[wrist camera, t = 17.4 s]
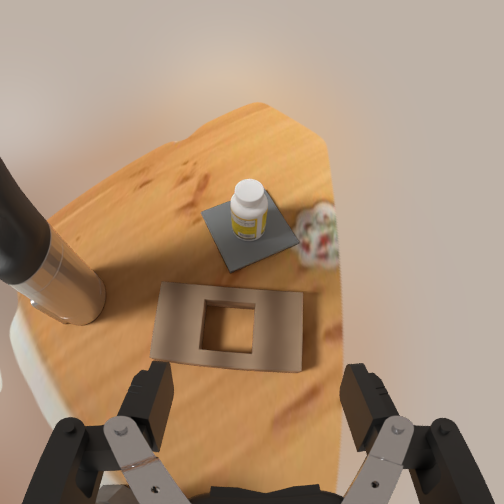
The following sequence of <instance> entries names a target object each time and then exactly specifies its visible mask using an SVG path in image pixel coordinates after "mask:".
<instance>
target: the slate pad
mask: <svg viewBox="0 0 504 504" xmlns="http://www.w3.org/2000/svg"><path fill="white" fill-rule="evenodd" d="M264 194H265V195H266V197H267V200H268V209H267V218H266V227H265V231H264V233H263V235H262V236H261V237H260V238H258V239H256V240H254V241H244V240H241V239H239V238H238V237H237V236H236V235H235V234H234V232H233V229H232V220H231V205H230V204H231V201H228V202H226V203H223V204H221V205H218V206H215V207H213V208H210V209H208V210H205V211H202V212H201V214H202V216H203V218H204V220H205V222H206V224H207V227H208V229H209V231H210V233H211V235H212V237H213V239H214V241H215V243H216V245H217V247H218V249H219V251H220V253H221V255H222V257H223V259H224V261H225V263H226V265H227V267H228V269H229V271H230V273H232V272H234V271H236V270H239V269H241V268H243V267H246V266H248V265H250V264H253V263H255V262H257V261H259V260H262V259H264V258H266V257H269V256H271V255H273V254H276V253H278V252H280V251H282V250H285V249H287V248H289V247H292V246H294V245H296V244H298V243H299V241H298V240H297V238H296V236H295V235H294V233H293V232H292V230H291V229H290V227H289V225H288V224H287V222H286V221H285V219H284V218H283V216H282V214H281V213H280V211H279V210H278V208H277V207H276V205H275V204H274V202H273V201H272V199H271V197H270V196H269V194H268V193H267V191H266V190H265V188H264Z"/></svg>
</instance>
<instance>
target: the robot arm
mask: <svg viewBox="0 0 504 504" xmlns="http://www.w3.org/2000/svg"><path fill="white" fill-rule="evenodd" d="M0 279H1V280H2V281H3V282H5V283H7V284H8V285H10V286H11V287H13V288H14V289H15V290H17V291H19V292H20V293H22V294H23V295H25V296H26V297H28V298H30V300H31V305H32V306H33V307H35V308H36V309H38V310H40V311H42V312H43V313H45V314H47V315H49V316H50V317H52V318H54V319H56V320H58V321H59V322H61V323H63V324H66V323H72V324H74V325H85V324H88V323H90V322H92V321H93V320H95V319H96V318H97V316H98V315H99V314H100V313H101V311H102V309H103V307H104V304H105V299H106V291H105V286H104V284H103V282H102V280H101V279H100V278H99V277H98V276H97V274H96V273H95V272H93V271H92V270H91V269H90V267H89V266H88V265H87V264H86V263H85V262H84V261H83V260H82V259H81V258H80V257H79V256H78V255H77V254H76V253H75V252H74V251H73V250H72V249H71V248H70V246H69V245H68V244H67V243H66V242H65V241H64V240H63V239H62V238H61V237H60V235H59V234H58V233H57V232H56V231H55V230H54V229H53V228H52V227H51V225H50V224H49V223H48V222H47V221H46V220H45V219H44V217H43V216H42V215H41V214H40V213H39V212H38V211H37V209H36V208H35V207H34V206H33V204H32V203H31V202H30V201H29V199H28V198H27V197H26V196H25V194H24V193H23V192H22V191H21V189H20V187H19V186H18V185H17V183H16V182H15V180H14V179H13V177H12V175H11V174H10V172H9V171H8V169H7V168H6V166H5V164H4V162H3V161H2V159H1V158H0ZM173 396H174V385H173V379H172V373H171V366H170V363H169V362H164V361H152V363H151V366H150V368H149V370H148V371H146V370H141V371H140V372H139V373H138V374H137V375H135V376H134V378H133V380H132V383H131V386H130V387H129V389H128V393H127V394H126V396H125V399H124V401H123V403H122V405H121V408H120V410H119V412H118V415H117V416H116V417H113V418H111V419H109V420H108V421H107V422H106V423H105V425H100V426H84V424H83V422H82V421H81V420H79V419H77V418H73V417H68V418H64V419H62V420H60V421H59V422H58V423H57V424H56V426H55V428H54V430H53V432H52V434H51V436H50V438H49V441H48V443H47V445H46V447H45V449H44V452H43V454H42V456H41V458H40V460H39V463H38V465H37V467H36V470H35V472H34V474H33V477H32V479H31V482H30V484H29V487H28V489H27V492H26V494H25V497H24V500H23V502H22V504H95V502H96V498H97V495H98V491H99V487H100V483H101V480H102V476H103V472H104V471H116V470H121V471H122V473H123V475H124V477H125V478H126V480H127V482H128V484H129V486H130V488H131V490H132V491H133V493H134V495H135V497H136V498H137V500H138V502H139V503H140V504H388V502H389V500H390V497H391V495H392V493H393V491H394V489H395V486H396V484H397V482H398V479H399V477H400V474H401V472H402V469H409V472H410V475H411V478H412V481H413V484H414V487H415V490H416V493H417V496H418V500H419V503H420V504H495V503H494V500H493V498H492V496H491V493H490V491H489V489H488V487H487V485H486V483H485V480H484V478H483V476H482V474H481V472H480V470H479V468H478V466H477V464H476V462H475V460H474V458H473V456H472V454H471V452H470V450H469V448H468V446H467V444H466V442H465V440H464V438H463V436H462V434H461V433H460V431H459V429H458V427H457V425H456V424H455V423H454V422H453V421H452V420H449V419H446V418H439V419H436V420H435V421H433V423H432V425H431V426H415V425H413V424H412V422H411V421H410V420H409V419H407V418H405V417H403V416H400V415H399V413H398V412H397V409H396V408H395V406H394V404H393V402H392V400H391V398H390V396H389V395H388V392H387V390H386V388H385V386H384V384H383V382H382V381H381V379H380V378H379V377H378V376H376V375H375V374H374V373H368V371H367V369H366V367H365V365H364V364H363V363H359V364H348V365H347V366H346V368H345V372H344V375H343V379H342V383H341V386H340V401H341V404H342V407H343V410H344V413H345V416H346V419H347V422H348V425H349V428H350V431H351V434H352V437H353V440H354V443H355V446H356V449H357V452H361V451H366V453H367V457H366V458H365V460H364V462H363V464H362V466H361V467H360V469H359V471H358V473H357V475H356V477H355V478H354V480H353V482H352V483H351V485H350V487H349V488H348V490H347V492H346V493H345V495H344V496H343V497H342V496H339V495H337V494H335V493H331V492H327V491H321V490H320V487H319V484H315V485H305V486H293V487H289V488H286V489H282V490H278V491H274V492H270V493H261V492H256V491H251V490H246V489H242V488H234V487H214V486H211V490H210V493H204V494H200V495H197V496H194V497H191V498H189V499H187V498H186V496H185V495H184V494H183V492H182V491H181V490H180V488H179V487H178V486H177V484H176V483H175V481H174V480H173V479H172V477H171V476H170V474H169V473H168V471H167V470H166V468H165V467H164V465H163V464H162V462H161V461H160V459H159V458H158V457H156V456H155V455H154V453H153V452H152V451H154V452H159V451H160V447H161V443H162V439H163V435H164V431H165V427H166V424H167V420H168V416H169V412H170V408H171V405H172V401H173Z"/></svg>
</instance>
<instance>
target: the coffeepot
mask: <svg viewBox="0 0 504 504" xmlns="http://www.w3.org/2000/svg"><path fill="white" fill-rule="evenodd" d="M95 504H140V503H139V502H138V500H137V498H136V497H135V495H134V493H133V491H132V490H131V489H129V488H127V487H126V486H124V485H103V486H102V487H101V488H100V489H99V491H98V495H97V498H96V502H95Z"/></svg>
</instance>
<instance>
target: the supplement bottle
mask: <svg viewBox="0 0 504 504" xmlns="http://www.w3.org/2000/svg"><path fill="white" fill-rule="evenodd" d="M230 205H231V220H232V229H233V232H234V234H235V235H236V236H237V237H238V238H239V239H241V240H244V241H254V240H256V239H258V238H260V237H261V236H262V235H263V233H264V231H265V227H266V218H267V209H268V200H267V197H266V195H265V194H264V187H263V185H262V184H261V183H260V182H258V181H257V180H253V179H245V180H242V181H240V182H239V183H238V184H237V185H236V187H235V193H234V194H233V196H232V198H231V204H230Z"/></svg>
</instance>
